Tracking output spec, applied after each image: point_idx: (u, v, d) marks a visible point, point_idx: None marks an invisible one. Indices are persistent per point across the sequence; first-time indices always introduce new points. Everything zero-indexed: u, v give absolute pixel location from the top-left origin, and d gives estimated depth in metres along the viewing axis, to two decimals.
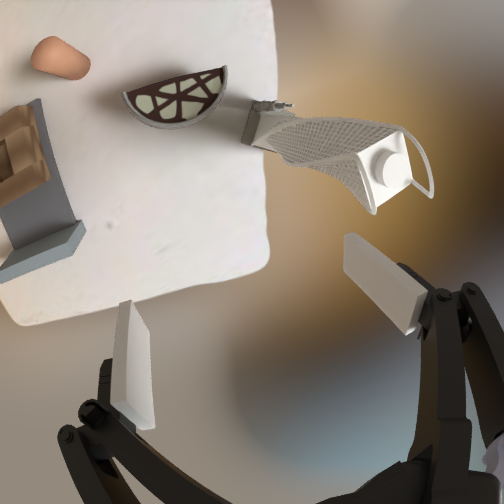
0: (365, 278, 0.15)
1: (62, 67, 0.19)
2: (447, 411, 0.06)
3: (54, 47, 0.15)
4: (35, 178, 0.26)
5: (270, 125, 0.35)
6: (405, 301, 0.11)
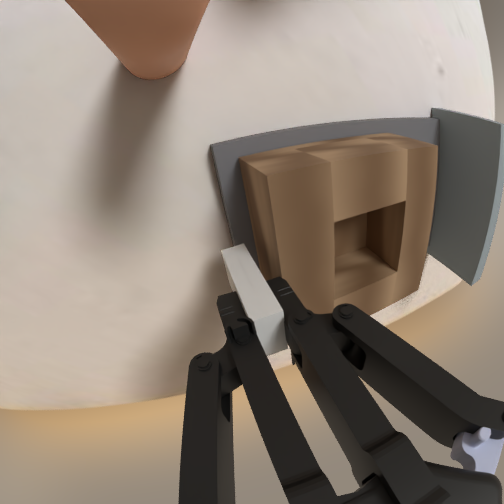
0: None
1: None
2: (371, 436, 0.06)
3: None
4: (427, 146, 0.13)
5: None
6: None
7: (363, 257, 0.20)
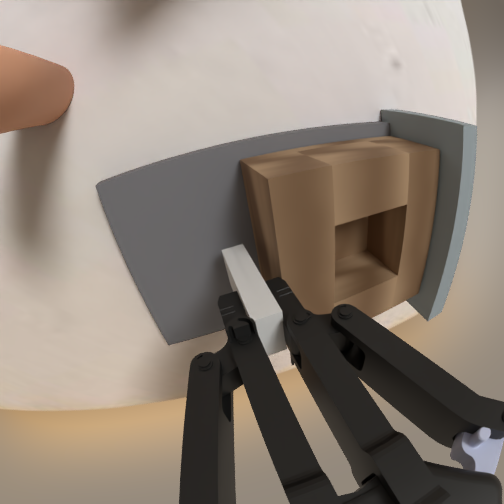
0: None
1: None
2: (371, 437, 0.06)
3: None
4: (428, 150, 0.13)
5: None
6: None
7: (364, 260, 0.20)
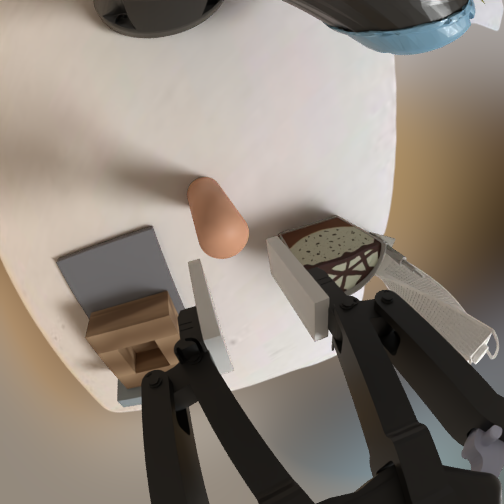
0: (283, 282, 0.16)
1: None
2: (395, 424, 0.06)
3: (237, 230, 0.21)
4: None
5: (384, 262, 0.41)
6: (308, 307, 0.13)
7: (132, 354, 0.35)
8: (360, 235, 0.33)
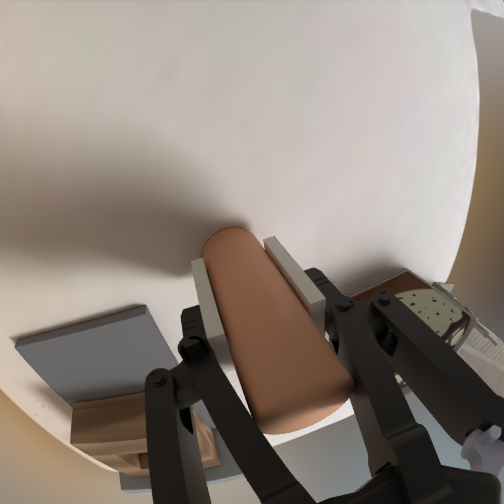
0: None
1: None
2: (393, 425, 0.06)
3: (333, 396, 0.09)
4: (218, 462, 0.24)
5: None
6: (305, 308, 0.13)
7: None
8: (444, 304, 0.20)
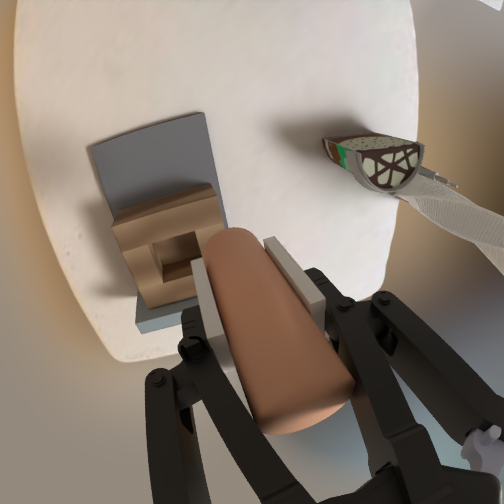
0: None
1: None
2: (393, 425, 0.06)
3: (334, 396, 0.09)
4: None
5: (416, 184, 0.39)
6: None
7: (160, 263, 0.34)
8: (399, 140, 0.31)
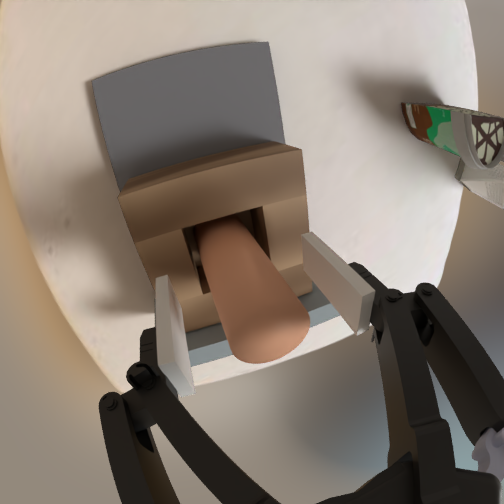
0: (320, 277, 0.16)
1: None
2: (419, 415, 0.06)
3: (292, 326, 0.12)
4: (311, 280, 0.23)
5: None
6: (353, 301, 0.12)
7: (194, 263, 0.22)
8: (481, 113, 0.19)
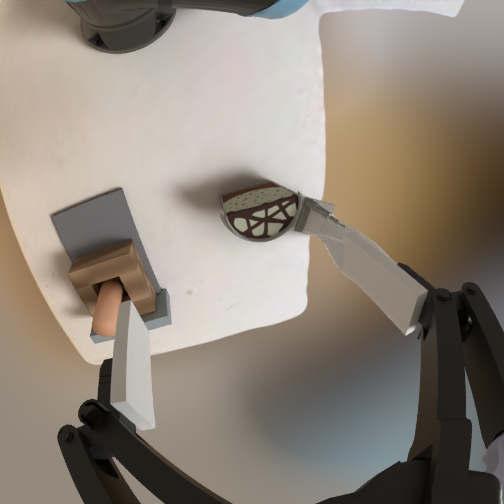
0: (365, 278, 0.15)
1: None
2: (447, 411, 0.06)
3: (110, 325, 0.34)
4: (153, 305, 0.45)
5: (319, 222, 0.49)
6: (405, 301, 0.11)
7: None
8: (282, 191, 0.42)
